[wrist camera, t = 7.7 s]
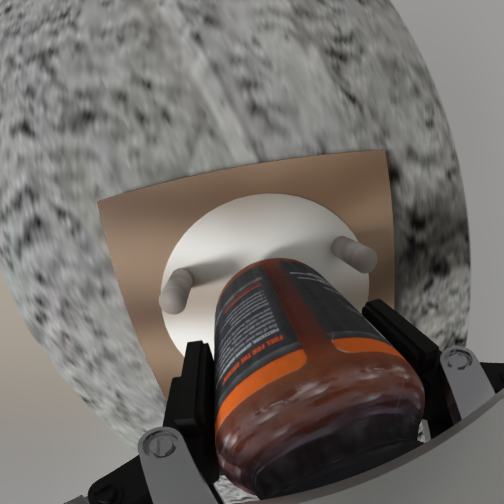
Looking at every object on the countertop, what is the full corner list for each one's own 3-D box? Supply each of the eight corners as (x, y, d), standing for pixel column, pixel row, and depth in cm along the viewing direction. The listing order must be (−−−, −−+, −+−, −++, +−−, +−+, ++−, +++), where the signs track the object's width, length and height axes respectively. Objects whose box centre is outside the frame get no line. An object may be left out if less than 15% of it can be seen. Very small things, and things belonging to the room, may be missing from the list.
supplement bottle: (203, 346, 14) (195, 561, 3) (232, 240, 13) (275, 494, 2) (306, 363, 15) (383, 535, 4) (345, 269, 14) (517, 416, 3)
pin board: (107, 199, 14) (69, 206, 10) (372, 152, 15) (416, 145, 10) (176, 402, 18) (170, 446, 13) (379, 355, 19) (408, 389, 14)
